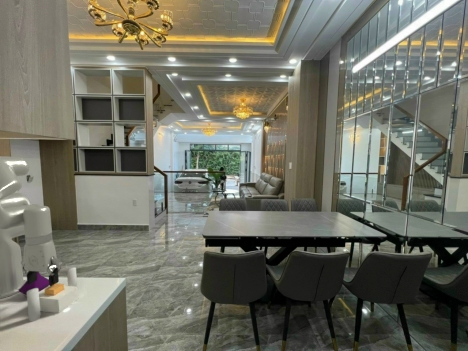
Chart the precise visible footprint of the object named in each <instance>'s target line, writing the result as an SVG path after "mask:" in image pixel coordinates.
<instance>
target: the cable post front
mask: <svg viewBox="0 0 468 351" xmlns="http://www.w3.org/2000/svg"><path fill="white" fill-rule="evenodd" d="M26 303H27V311H28V312H27V314H28V321H29V322H35V321H37V320H39V319H40V318H41V317H42V315H41V311H40V302H39V290H38V288H34V289H31V290H29V291H27V296H26Z"/></svg>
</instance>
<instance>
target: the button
mask: <svg viewBox="0 0 468 351" xmlns="http://www.w3.org/2000/svg"><path fill="white" fill-rule="evenodd" d="M64 286H65V284H64V283H59V282H58V283H56V284H54V285H52V286H49V287H48V288H46V289H45V295H50V296H55V295H56V294H58V293H59V292H61V291H63V290H64Z"/></svg>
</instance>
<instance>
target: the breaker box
mask: <svg viewBox="0 0 468 351" xmlns="http://www.w3.org/2000/svg"><path fill="white" fill-rule="evenodd" d="M48 287H49V286H48ZM48 287H47V288H48ZM45 289H46V288H45ZM45 289H43V290H41V291H40V292H39V302H40V312H46V313H47V312H48V313H54V314H55V313H56V314H60V313H62V312H63V311H64V310H65V309H68V307H69V306H71V305H72V304H73V303H75V302H76V301H78V300H79V287H78V286H77V287H75V286H68V285H64V290H63V291H61V292H59V293H58V294H56V295H55V296H50V295H45Z"/></svg>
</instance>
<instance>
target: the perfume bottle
mask: <svg viewBox="0 0 468 351" xmlns="http://www.w3.org/2000/svg"><path fill="white" fill-rule="evenodd" d="M48 286H49V278H47V277H45V276H43V275H42V274H40V272H37V281H35V282H33V283H31V284H27V281H26V282H25V284H24V285H23V286H22V287H21V288H20V289H19V290H18V291H19V292H18V293H21V294H23V295H24V296H25V297H27V291H29V290H31V289H34V288H38V290H39V292H40V291H41V290H43V289H45V288H47V287H48Z"/></svg>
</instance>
